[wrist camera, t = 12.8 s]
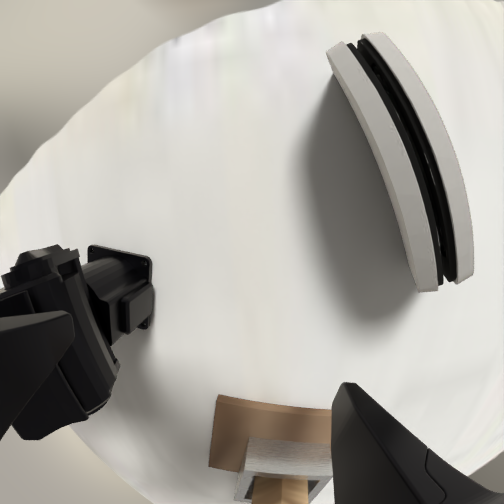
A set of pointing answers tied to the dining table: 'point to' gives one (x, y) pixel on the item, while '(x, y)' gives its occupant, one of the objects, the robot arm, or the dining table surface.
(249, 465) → the steel end cap
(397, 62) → the grey napkin holder
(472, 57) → the dining table surface
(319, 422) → the walnut board
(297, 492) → the oak block
